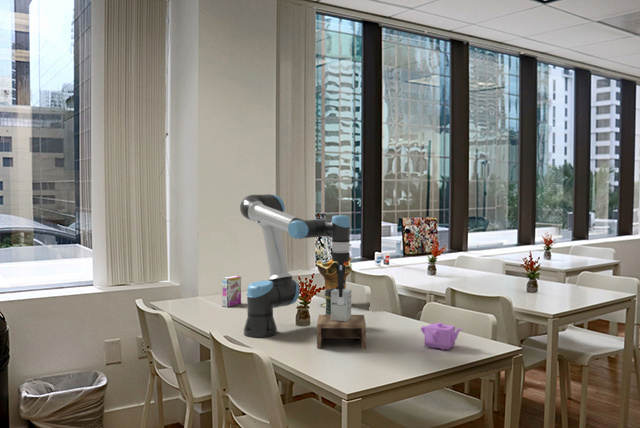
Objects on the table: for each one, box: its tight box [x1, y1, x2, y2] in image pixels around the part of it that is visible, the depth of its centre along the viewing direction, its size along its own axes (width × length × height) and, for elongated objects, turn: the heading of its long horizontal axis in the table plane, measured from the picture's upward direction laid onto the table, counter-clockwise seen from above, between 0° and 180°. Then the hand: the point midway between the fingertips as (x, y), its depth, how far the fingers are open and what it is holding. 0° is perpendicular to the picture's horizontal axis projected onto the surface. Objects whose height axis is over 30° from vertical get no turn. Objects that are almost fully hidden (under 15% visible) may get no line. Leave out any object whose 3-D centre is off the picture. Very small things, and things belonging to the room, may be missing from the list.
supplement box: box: [331, 288, 352, 322], centre depth 232 cm, size 7×7×13 cm
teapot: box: [420, 322, 463, 351], centre depth 224 cm, size 18×14×10 cm
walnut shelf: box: [316, 314, 367, 350], centre depth 233 cm, size 20×18×10 cm
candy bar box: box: [221, 275, 242, 307], centre depth 313 cm, size 11×5×16 cm, turn 144°
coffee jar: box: [324, 288, 336, 315], centre depth 261 cm, size 10×8×19 cm
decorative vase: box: [316, 257, 353, 309], centre depth 310 cm, size 21×23×28 cm
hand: (340, 301), depth 233 cm, fingers open, 13 cm apart
